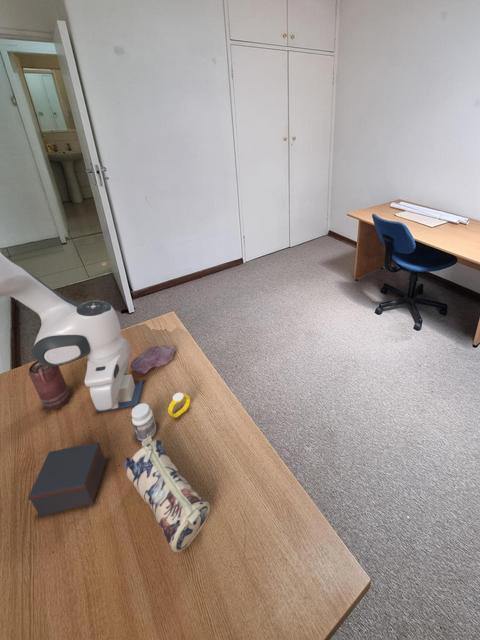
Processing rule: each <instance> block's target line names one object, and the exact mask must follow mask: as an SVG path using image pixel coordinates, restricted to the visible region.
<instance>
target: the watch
mask: <svg viewBox="0 0 480 640" xmlns="http://www.w3.org/2000/svg"><path fill="white" fill-rule="evenodd" d="M184 398H185V399H186V400H185V403H184V405H183V406H182V407H181V408H180V409H179V410H178V411H176V412H175V413H173V409H174V407H175V406H176V404H180V403H181V402H183V400H184ZM190 405H191V397H190V396H189V395H188V394H187V393H185V392H176V393H174V395H173V396H172V400H171V402H170V403H169V405H168V408H167V413H168V414H169V416H171V418H175V419H176V418H179V417H180V416H181V415H183V414H184V413H185V412H187V410H188V408H189V407H190Z"/></svg>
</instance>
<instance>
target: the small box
mask: <svg viewBox="0 0 480 640" xmlns="http://www.w3.org/2000/svg"><path fill="white" fill-rule="evenodd" d="M134 383H135V381H134V377H133V375H132V373H129V374H128V375H124V377H123V380H122V383H121V386H120V389H119V392H118V395H117V398H116V399H119V402H120V403H121V402H127V401H131V400H132V396H133V392H134V389H135V384H134Z"/></svg>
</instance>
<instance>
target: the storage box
mask: <svg viewBox="0 0 480 640" xmlns="http://www.w3.org/2000/svg"><path fill="white" fill-rule="evenodd" d="M101 447H102V446H101V443H100V441H98V442H97V441H96V442H92V443H87V444H82V445H76V446H72V447H66V448H62V449H57V450H51V451H49V452H48V453H47V456H46V457H45V460H44V462H43V464H42V467H41V468H40V470H39V473H38V475H37V477H36V479H35V481H34V482H33V485H32V488H31V489H30V492H29V494H28V497H27V499H28V501H30V502H31V504H32V505H33V507H34V508H35V510H36V512H37V514H38V516H39V517H41V516H46V515H51V514H55V513H59V512H63V511H69V510H72V509H76V508H82V507H85V506H90V505H94V502H95V500H96V495H97V493H98V490H99V486H100V482H101V479H102V476H103V473H104V469H105V466H106V462H107V459H106V458H105V454H104V452H103V450H102V448H101Z"/></svg>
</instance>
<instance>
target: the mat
mask: <svg viewBox="0 0 480 640" xmlns="http://www.w3.org/2000/svg"><path fill="white" fill-rule="evenodd" d="M134 384H135V389H134V392H133V396H132V400H131V401H127V402H121V403H119V406H118V408H115V409H107V410H97V412H98V413H102V412H108V411H113V410H118V409H124V408H129V407H130V408H131V407H135V406H137V405H138V404H139V401H140V397H141V393H142V390H143V385H144V381H137V382H134Z"/></svg>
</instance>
